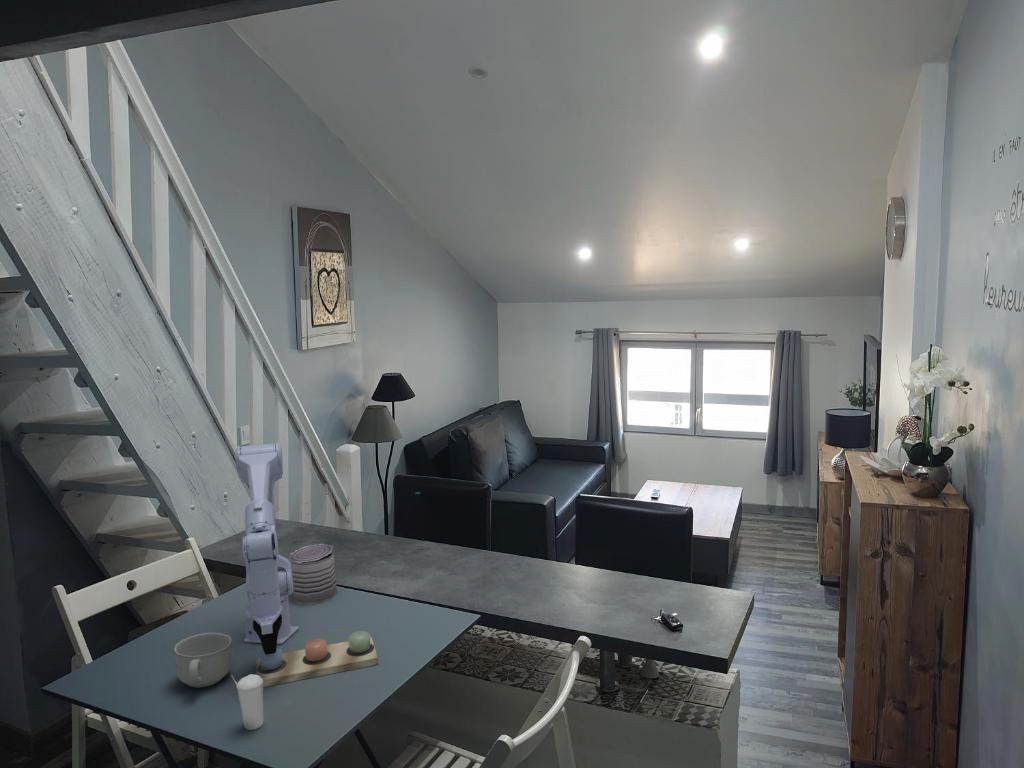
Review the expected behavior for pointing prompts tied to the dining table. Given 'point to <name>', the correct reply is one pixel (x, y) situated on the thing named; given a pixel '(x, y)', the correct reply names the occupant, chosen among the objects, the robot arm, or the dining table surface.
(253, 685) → the milkshake
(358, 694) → the dining table surface
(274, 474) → the robot arm
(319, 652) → the terracotta button
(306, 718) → the dining table surface
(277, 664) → the slate button
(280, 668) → the button panel
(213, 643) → the teacup
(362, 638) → the sage button
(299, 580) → the can
